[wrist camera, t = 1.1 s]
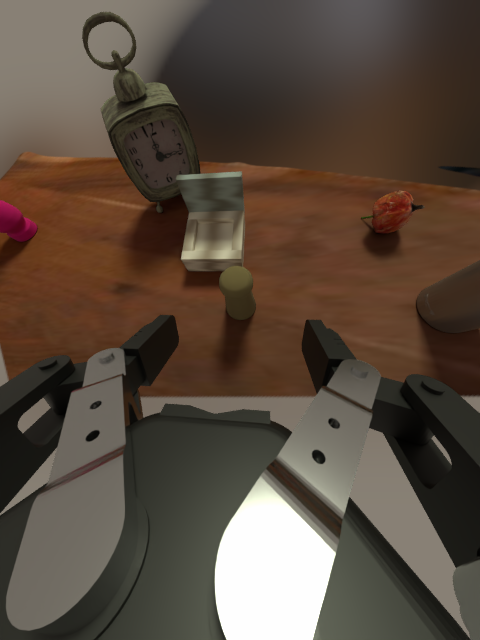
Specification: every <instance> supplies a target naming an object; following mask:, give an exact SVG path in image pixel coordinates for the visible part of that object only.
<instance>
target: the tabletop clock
mask: <svg viewBox="0 0 480 640" xmlns="http://www.w3.org/2000/svg"><path fill="white" fill-rule="evenodd" d="M111 21H113V22H116V23H119V24H120V25H122V26H123V27H124V28H126V29H127V31H128V32H129V33H130V35H131V37H132V43H133V46H132V48H131V51H130V52H129V53H128V55H127V56H126V57H123V58H120V56H119V54H118V52H117V51H115V50H113V51H112V57H113V59H114V61H113V62H101V61H99V60H97V59H95V58H94V57H93V56H92V55H91V53H90V51H89V48H88V43H87V42H88V35H89V33H90V31H91V29H92V28H94V27H95V26H97V25H98V24H101V23H104V22H111ZM82 39H83V43H84V47H85V50H86V52H87V54H88V56H89V57H90V59H91V60H92V61H93V62H94V63H95V64H97V65H99V66H100V67H101V68H104V69H108V70H117V69H118V70H119V71H118V72H117V73H116V74H115V76H114V80H113V84H114V90H115V93H116V95H114V96H113V97H111V98H109V99H108V100H107V101H106V102H105V103H104V105H103V106H102V108H101V112H102V116H103V120H104V123H105V126H106V129H107V132H108V135H109V138H110V141H111V144H112V146H113V149H114V151H115V153H116V155H117V157H118V159H119V161H120V162H121V164H122V166H123V168H124V170H125V171H126V173H127V175H128V176H129V178H130V179H131V181H132V182H133V183H134V185H135V186H136V187H137V189H138V190H139V191H140V193H141V194H142V195H143V196H144V197H145V198H146V199H148V200H149V201H150V202H157V203H158V205H157V206H156V210H157V212H159V213H162V212H163V208H162V207H161V206H160V201H163V200H167V199H170V198H173V197H176V196H178V195H180V194H181V191H180V189H179V187H178V184H177V182H176V177H177V175H191V174H200V165H199V160H198V155H197V150H196V146H195V143H194V140H193V137H192V134H191V131H190V128H189V125H188V123H187V120H186V118H185V116H184V114H183V112H182V111H181V109H180V108H179V106H178V104H177V103H176V101H175V99H174V98H173V96H172V94H171V93H170V91H169V90H168V88H167V86H166V85H164V84H161V83H147V84H144V82H143V81H142V79H141V78H140V76H139V75H138V74H137V73H136V72H135V71H134V70H132V69H127V68H124V67H125V66H127V65H128V64H129V63H130V62H131V61H132V60H133V58H134V56H135V52H136V40H135V37H134V34H133V33H132V30H131V29H130V27H129V26H128V24H127V23H126V22H125V21H124V20H123V19H122V18H121V17H120V16H118V15H116V14H114V13H111V12H100V13H97V14H95V15H92V16H91V17H90V18H89V19H87V20H86V22H85V25H84V27H83V35H82Z"/></svg>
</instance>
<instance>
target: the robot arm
mask: <svg viewBox="0 0 480 640" xmlns="http://www.w3.org/2000/svg"><path fill="white" fill-rule="evenodd" d="M417 308H418V311H419V313H420V315H421V317H422V318H423V319H424V320H425V321H426V322H427V323H428V324H429V325H431V326H432V327H434V328H436V329H437V330H440V331H443V332H447V333H460V332H465V331H469V330H474V329H479V328H480V260H479V261H477V262H475V263H473V264H471V265H470V266H468V267H466V268H464V269H462V270H460V271H458V272H456V273H454V274H452V275H450V276H448V277H446V278H444V279H442V280H441V281H439V282H437V283H435V284H433V285H431V286H429V287H427V288H425V289H424V290H422V291H421V293H420V294H419V296H418V298H417ZM178 343H179V336H178V331H177V326H176V321H175V317H174V316H173V315H160V316H158V317H157V318H156V319H155V320H154V321H153V322H152V323H150V324H148V325H146V326H144V327H143V328H141V329H140V330H139V331H138V332H137V333H136V334H135V335H134V336H132V337H131V338H130V339H129V340H128V341H126V342H125V343H124V344H123V345H122V346H121V347H120V348H111V349H107V350H103V351H101V352H99V353H97V354H95V355H93V356H92V357H91V358H90V359H89V360H88V362H84V363H77V364H73V363H72V361H71V359H70V357H69V356H66V355H60V356H54V357H51V358H47V359H45V360H42V361H40V362H38V363H36V364H35V365H33V366H31V367H30V368H28V369H27V370H25V371H24V372H22V373H21V374H19V375H18V376H16V377H15V378H13V379H11V380H10V381H8V382H7V383H5V384H4V385H2V386H1V387H0V513H1V512H2V511H3V509H4V508H5V507H6V506H7V505H8V504H9V502H10V501H11V500H12V499H13V498H14V497H15V495H16V494H17V493H18V492H19V491H20V489H21V488H22V487H23V486H24V485H25V484H26V483H27V481H28V480H29V479H30V478H31V477H32V475H33V474H34V473H35V472H36V471H37V470H38V469H39V467H40V466H41V465H42V464H43V463H44V462H45V461H46V459H47V458H48V457H49V456H50V454H52V452H53V451H54V450H55V449H56V448H57V451H56V454H55V458H54V462H53V466H52V470H51V474H50V478H49V481H48V483H47V484H45V485H43V486H42V487H41V488H39V489H38V490H36V491H35V492H33V493H32V494H30V495H29V496H28V497H26V498H25V499H23V500H22V501H20V502H19V503H18V504H16V505H15V506H13V507H12V508H10V509H9V510H7V511H6V512H5V513H3V514H2V515H0V640H470V639H471V640H480V413H478V412H477V411H476V410H475V409H474V408H473V407H472V406H471V405H470V404H468V403H467V402H466V401H465V400H464V399H463V398H462V397H461V396H460V395H458V394H457V393H456V392H455V391H454V390H453V389H451V388H450V387H449V386H447V385H446V384H444V383H442V382H440V381H438V380H436V379H433V378H431V377H428V376H424V375H418V374H412V375H409V376H407V378H406V380H405V382H404V383H403V382H399V381H395V380H391V379H387V378H383V377H381V376H380V373H379V372H378V371H377V370H376V369H375V368H374V367H373V366H371V365H369V364H368V363H365V362H363V361H360V360H357V359H356V358H355V356H354V355H353V354H352V352H351V351H350V350H349V348H348V347H347V346H346V345H345V343H344V342H343V340H342V339H341V338H340V336H339V335H338V334H337V333H336V332H334V331H333V330H331V329H327V328H326V327H325V325H324V324H323V322H322V321H321V320H306V323H305V328H304V334H303V339H302V352H303V355H304V358H305V361H306V364H307V367H308V370H309V373H310V375H311V378H312V381H313V384H314V387H315V390H316V393H317V395H316V397H315V398H314V400H313V401H312V403H311V405H310V406H309V408H308V409H307V411H306V412H305V414H304V415H303V417H302V418H301V420H300V422H299V423H298V425H297V426H296V428H295V430H294V431H293V432H291V431H290V430H288V429H287V428H285V427H284V426H282V425H280V424H278V423H276V422H273V421H271V420H270V412H269V411H258V410H244V409H242V410H237V411H231V412H224V413H218V414H213V413H210V412H207V411H204V410H201V409H199V408H196V407H193V406H190V405H177V404H165V405H164V407H163V409H162V411H161V413H157V414H153V415H150V416H147V417H145V418H143V412H142V406H141V400H140V393H139V390H138V388H139V387H140V385H141V386H151V384H152V383H153V381H154V380H155V378H156V377H157V376H158V374H159V373H160V371H161V370H162V368H163V367H164V365H165V364H166V362H167V361H168V359H169V358H170V356H171V355H172V353H173V352H174V351H175V349H176V348H177V346H178ZM42 398H44V399H45V400H46V401H47V403H48V404H49V406H50V407H51V408H50V409H49V410H48V411H47V412H46V413H45V414H44V415H43V416H42V417H41V418H39V419H38V420H37V421H36V422H35V423H34V424H33V425H32V426H31V427H30V428H29V429H27V430H26V431H25V432H24V433H22V432H21V431H20V430H19V429H18V426H17V425H18V421H19V419H20V417H21V416H22V415H23V413H25V412H26V411H27V410H29V409H30V408H31V407H32V406H33V405H34V404H36V403H37V402H38V401H39V400H40V399H42ZM369 428H371V429H374V430H376V431H379V432H382V433H383V434H384V436H385V438H386V439H387V441H388V443H389V445H390V447H391V449H392V450H393V452H394V454H395V456H396V458H397V460H398V461H399V464H400V465H401V467H402V469H403V471H404V473H405V475H406V476H407V478H408V480H409V482H410V484H411V486H412V487H413V489H414V491H415V493H416V495H417V497H418V499H419V500H420V502H421V504H422V506H423V508H424V510H425V511H426V513H427V515H428V517H429V519H430V520H431V522H432V524H433V526H434V528H435V530H436V531H437V533H438V535H439V537H440V539H441V541H442V543H443V545H444V547H445V548H446V550H447V552H448V554H449V556H450V558H451V559H452V561H453V563H454V565H455V567H456V570H455V571H454V575H453V585H454V590H455V594H456V597H457V600H458V602H459V605H460V613H461V617H462V619H463V622H464V624H465V626H466V628H467V629H468V631H469V634H470V638H469V637H468V636H467V635H466V633H465V632H464V631H463V630H462V628H461V627H460V626H459V624H458V623H457V622H456V621H455V620H454V618H453V617H452V616H451V615H450V614H449V613H448V612H447V610H446V609H445V608H444V607H443V605H442V604H441V603H440V602H439V601H438V600H437V598H436V597H435V596H434V595H433V594H432V593H431V591H430V590H429V589H428V588H427V587H426V586H425V584H424V583H423V582H422V581H421V580H420V579H419V577H418V576H417V575H416V574H415V573H414V572H413V570H412V569H411V568H410V567H409V566H408V565H407V563H406V562H405V561H404V560H403V559H402V558H401V556H400V555H399V554H398V553H397V552H396V551H395V549H394V548H393V547H392V546H391V545H390V544H389V542H388V541H387V540H386V539H385V538H384V537H383V535H382V534H381V533H380V532H379V531H378V530H377V528H376V527H375V526H374V525H373V524H372V523H371V521H370V520H369V519H368V518H367V517H366V516H365V514H364V513H363V512H362V511H361V510H360V509H359V507H358V506H357V505H356V504H355V503H354V502H353V501H352V499H351V498H350V497H349V495H350V492H351V488H352V485H353V481H354V478H355V474H356V471H357V467H358V464H359V460H360V457H361V453H362V450H363V446H364V443H365V439H366V436H367V432H368V429H369ZM434 435H435V437H436V438H437V439H438V440H439V442H440V443H441V444H442V446H443V447H444V448H445V449H446V451H447V452H448V454H449V456H450V459H451V462H452V465H451V464H450V463H449V462H448V460H447V459H446V457H445V456H444V455H443V453H442V452H441V451H440V450H439V448H438V447H437V446H436V444H435V443H434V442H433V440H432V439H431V438H432V437H433V436H434Z"/></svg>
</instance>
